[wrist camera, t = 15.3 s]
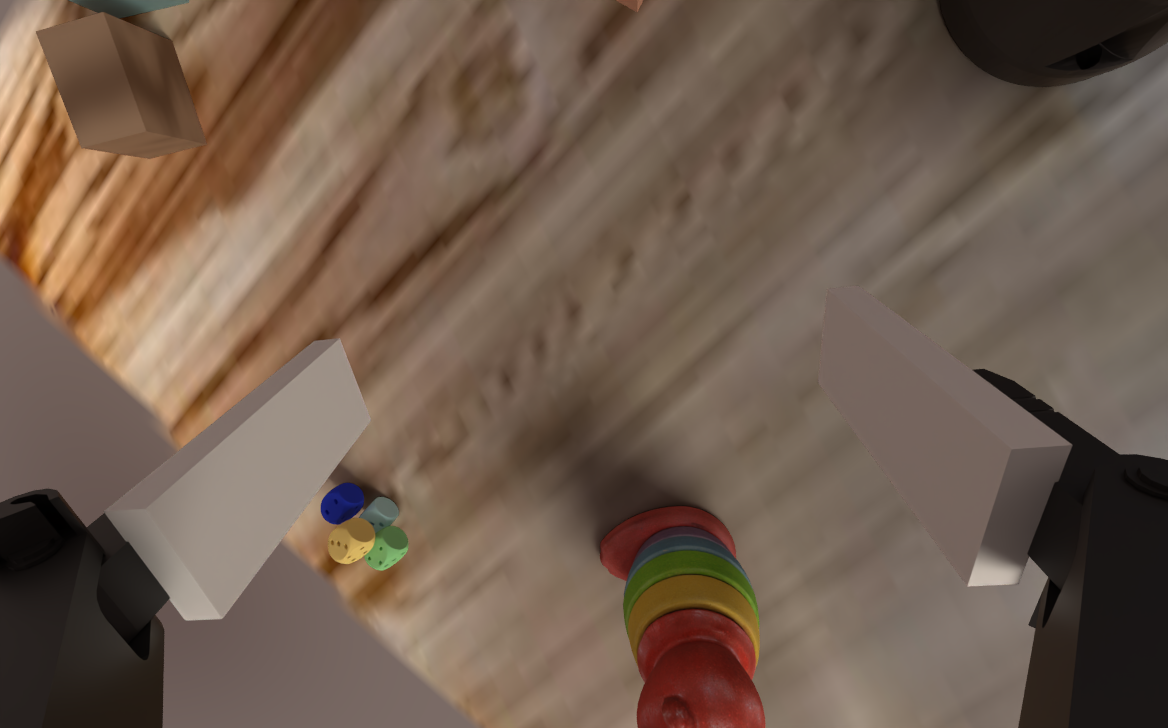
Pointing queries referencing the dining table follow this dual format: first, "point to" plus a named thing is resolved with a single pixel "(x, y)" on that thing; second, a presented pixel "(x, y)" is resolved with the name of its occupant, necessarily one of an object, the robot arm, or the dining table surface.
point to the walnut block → (121, 87)
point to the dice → (363, 528)
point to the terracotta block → (631, 4)
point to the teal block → (127, 6)
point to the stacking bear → (687, 619)
